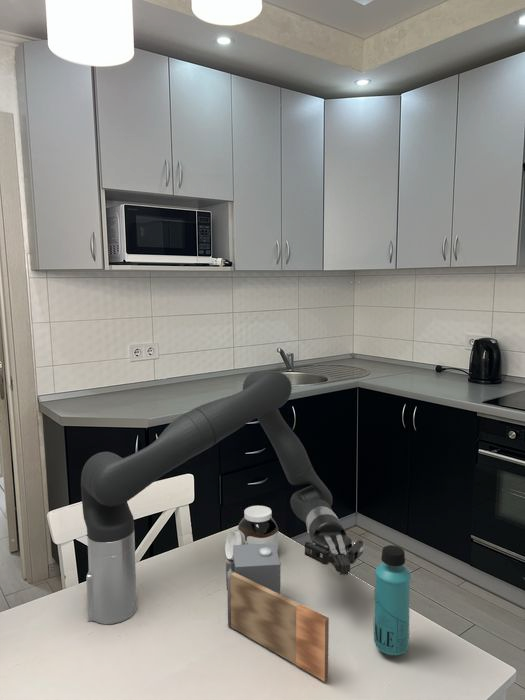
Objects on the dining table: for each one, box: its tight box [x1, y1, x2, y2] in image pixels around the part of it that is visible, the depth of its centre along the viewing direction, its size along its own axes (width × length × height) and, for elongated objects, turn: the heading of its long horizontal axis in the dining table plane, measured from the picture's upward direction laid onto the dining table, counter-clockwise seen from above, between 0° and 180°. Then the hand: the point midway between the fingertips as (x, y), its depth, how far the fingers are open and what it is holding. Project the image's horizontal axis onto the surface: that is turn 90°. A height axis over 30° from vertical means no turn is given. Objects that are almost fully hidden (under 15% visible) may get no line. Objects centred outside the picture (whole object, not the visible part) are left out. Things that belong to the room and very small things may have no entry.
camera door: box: [226, 571, 330, 682], centre depth 95 cm, size 23×1×11 cm, turn 49°
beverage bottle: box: [373, 544, 412, 656], centre depth 94 cm, size 6×7×20 cm
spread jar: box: [224, 505, 280, 561], centre depth 129 cm, size 12×11×12 cm
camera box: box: [225, 543, 281, 595], centre depth 108 cm, size 11×9×13 cm
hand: (344, 570), depth 99 cm, fingers closed
